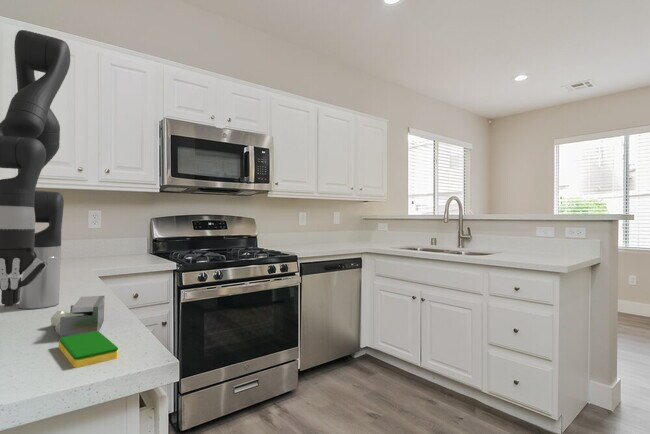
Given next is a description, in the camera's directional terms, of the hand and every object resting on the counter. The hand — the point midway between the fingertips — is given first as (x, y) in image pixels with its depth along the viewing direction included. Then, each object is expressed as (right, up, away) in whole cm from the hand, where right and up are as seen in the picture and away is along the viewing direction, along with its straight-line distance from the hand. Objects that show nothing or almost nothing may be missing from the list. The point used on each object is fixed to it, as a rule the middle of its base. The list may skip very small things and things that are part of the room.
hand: (10, 305), depth 80 cm
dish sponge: (+22, -8, -8) cm, 25 cm away
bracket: (+12, -7, +6) cm, 15 cm away
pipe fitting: (+8, -7, +6) cm, 12 cm away
